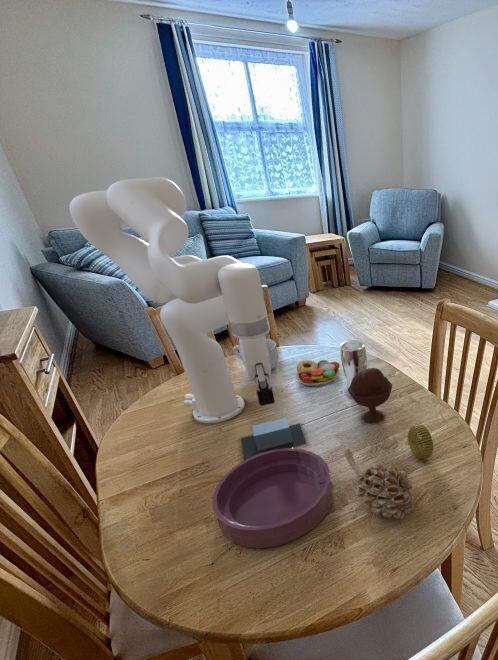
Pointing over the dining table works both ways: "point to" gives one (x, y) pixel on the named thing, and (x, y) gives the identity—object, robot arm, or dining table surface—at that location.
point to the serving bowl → (273, 497)
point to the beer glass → (353, 359)
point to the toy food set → (317, 372)
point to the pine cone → (383, 489)
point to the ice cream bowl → (370, 392)
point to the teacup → (271, 350)
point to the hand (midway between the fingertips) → (264, 392)
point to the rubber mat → (251, 448)
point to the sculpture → (420, 441)
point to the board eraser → (272, 434)
